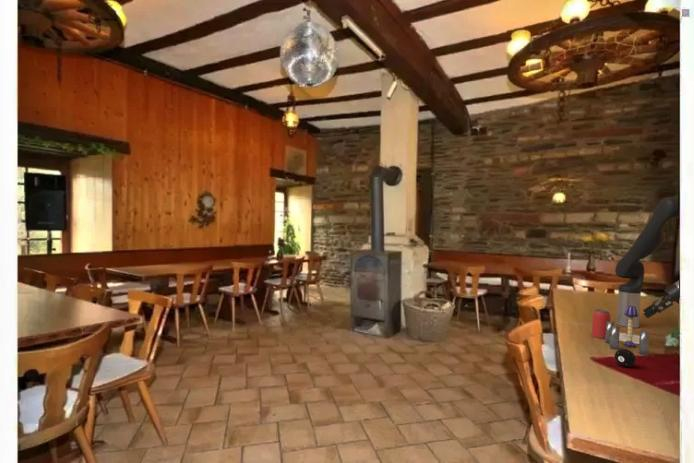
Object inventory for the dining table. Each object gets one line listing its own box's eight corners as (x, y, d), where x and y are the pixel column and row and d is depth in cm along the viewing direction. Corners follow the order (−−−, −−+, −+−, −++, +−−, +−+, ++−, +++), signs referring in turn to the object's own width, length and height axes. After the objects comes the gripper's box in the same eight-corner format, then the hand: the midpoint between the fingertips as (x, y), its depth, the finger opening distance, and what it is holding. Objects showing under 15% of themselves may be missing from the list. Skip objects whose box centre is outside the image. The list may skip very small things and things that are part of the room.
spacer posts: (606, 341, 169) (607, 320, 169) (652, 351, 156) (654, 329, 156) (597, 345, 162) (598, 323, 162) (644, 356, 150) (646, 333, 149)
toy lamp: (619, 343, 166) (622, 304, 165) (630, 344, 166) (632, 305, 166) (628, 347, 161) (631, 307, 161) (639, 347, 161) (641, 307, 161)
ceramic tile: (646, 339, 175) (646, 336, 175) (646, 345, 165) (647, 343, 165) (613, 333, 182) (613, 331, 182) (612, 339, 172) (612, 337, 172)
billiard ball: (638, 367, 138) (639, 350, 138) (630, 370, 135) (631, 353, 134) (619, 362, 143) (620, 345, 143) (611, 364, 140) (612, 348, 140)
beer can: (612, 340, 171) (613, 312, 171) (595, 338, 173) (597, 311, 172) (605, 335, 178) (606, 309, 177) (589, 334, 179) (590, 308, 179)
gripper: (673, 281, 161) (637, 304, 168) (676, 284, 149) (637, 309, 156) (689, 295, 158) (652, 318, 165) (694, 300, 146) (653, 325, 153)
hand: (645, 314), depth 161 cm, fingers open, 8 cm apart
